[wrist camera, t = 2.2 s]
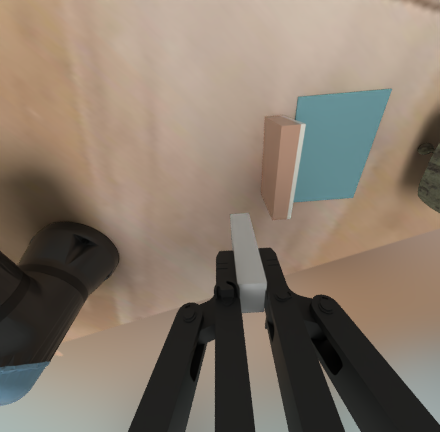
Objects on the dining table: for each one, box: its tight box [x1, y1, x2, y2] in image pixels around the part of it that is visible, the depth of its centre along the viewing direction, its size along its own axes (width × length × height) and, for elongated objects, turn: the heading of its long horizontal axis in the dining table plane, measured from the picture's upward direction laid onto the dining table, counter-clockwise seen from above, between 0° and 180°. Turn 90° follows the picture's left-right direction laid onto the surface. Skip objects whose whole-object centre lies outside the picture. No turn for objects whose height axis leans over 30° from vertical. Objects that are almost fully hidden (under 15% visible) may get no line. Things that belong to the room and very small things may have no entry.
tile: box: [261, 115, 306, 220], centre depth 26 cm, size 2×12×8 cm, turn 4°
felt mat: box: [293, 89, 392, 202], centre depth 29 cm, size 12×16×1 cm
